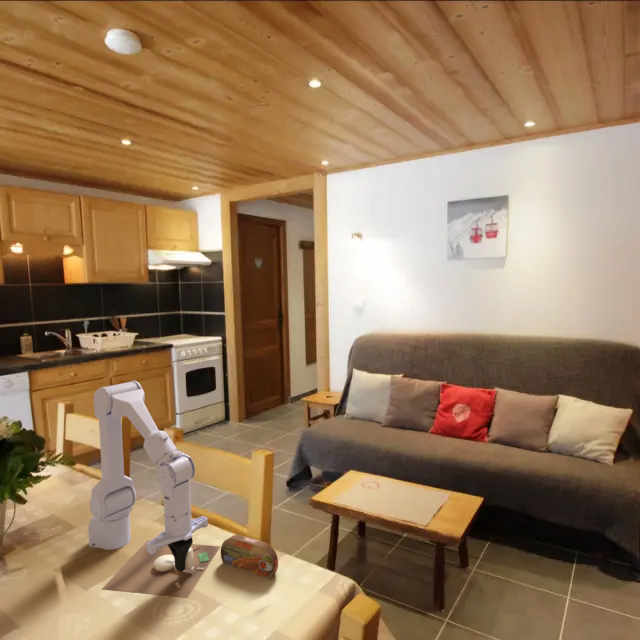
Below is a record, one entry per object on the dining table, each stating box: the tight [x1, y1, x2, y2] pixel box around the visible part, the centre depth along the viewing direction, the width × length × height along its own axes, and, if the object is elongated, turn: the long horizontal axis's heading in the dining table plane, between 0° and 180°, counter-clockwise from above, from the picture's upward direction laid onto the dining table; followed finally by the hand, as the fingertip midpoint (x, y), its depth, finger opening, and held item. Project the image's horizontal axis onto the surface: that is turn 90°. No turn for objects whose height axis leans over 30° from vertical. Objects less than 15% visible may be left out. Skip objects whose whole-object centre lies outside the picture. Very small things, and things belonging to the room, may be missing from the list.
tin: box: [220, 534, 279, 581], centre depth 106 cm, size 15×3×8 cm, turn 62°
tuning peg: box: [154, 547, 195, 572], centre depth 106 cm, size 10×5×5 cm, turn 68°
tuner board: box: [101, 540, 222, 599], centre depth 108 cm, size 20×19×2 cm
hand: (180, 569), depth 103 cm, fingers closed
